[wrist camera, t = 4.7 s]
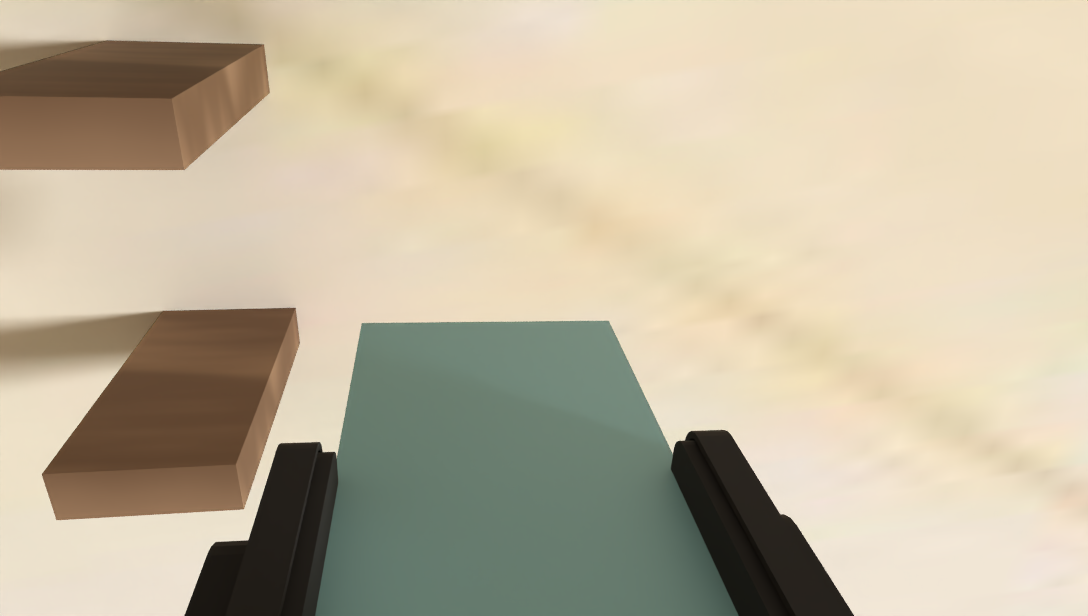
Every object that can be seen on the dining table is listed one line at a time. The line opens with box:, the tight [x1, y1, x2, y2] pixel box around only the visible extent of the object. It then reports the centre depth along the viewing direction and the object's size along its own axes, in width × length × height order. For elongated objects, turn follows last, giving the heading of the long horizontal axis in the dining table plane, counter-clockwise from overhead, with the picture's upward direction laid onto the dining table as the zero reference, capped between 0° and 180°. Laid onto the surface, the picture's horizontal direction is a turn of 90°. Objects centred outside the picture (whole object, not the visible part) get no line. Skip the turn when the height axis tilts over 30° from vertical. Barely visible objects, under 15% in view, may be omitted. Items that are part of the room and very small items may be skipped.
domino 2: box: [42, 308, 300, 520], centre depth 25 cm, size 2×5×10 cm, turn 88°
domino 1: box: [0, 41, 270, 170], centre depth 21 cm, size 2×5×10 cm, turn 88°
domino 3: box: [315, 321, 738, 616], centre depth 11 cm, size 2×5×10 cm, turn 87°
